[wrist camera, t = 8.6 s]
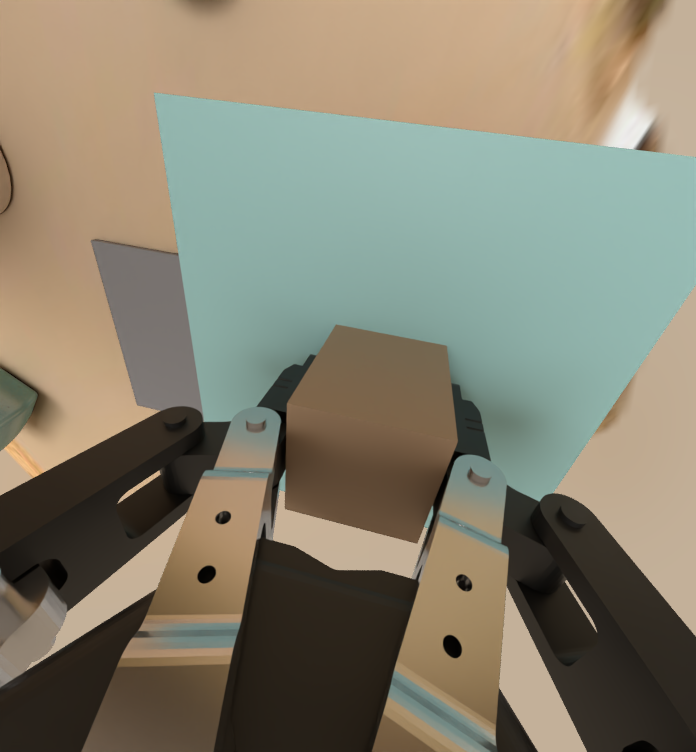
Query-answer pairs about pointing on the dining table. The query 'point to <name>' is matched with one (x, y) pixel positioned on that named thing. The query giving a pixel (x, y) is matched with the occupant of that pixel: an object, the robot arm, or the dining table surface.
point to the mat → (150, 323)
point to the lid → (418, 291)
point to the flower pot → (13, 407)
